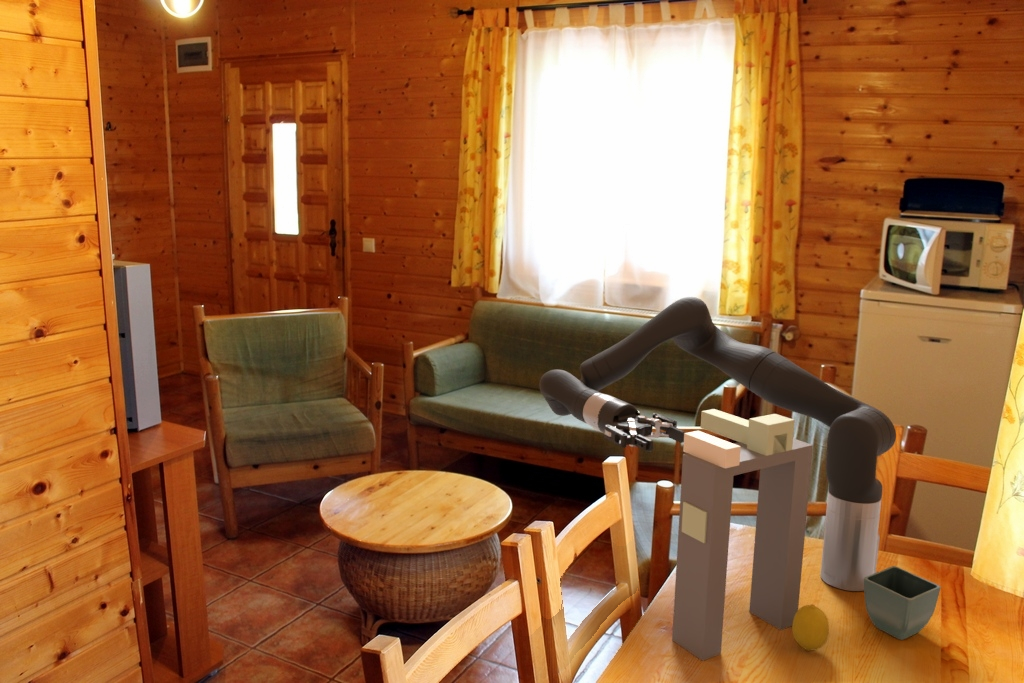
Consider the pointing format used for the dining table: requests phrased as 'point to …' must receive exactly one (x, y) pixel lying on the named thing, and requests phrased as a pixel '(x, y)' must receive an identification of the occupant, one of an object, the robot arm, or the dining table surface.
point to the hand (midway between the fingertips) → (668, 442)
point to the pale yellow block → (752, 430)
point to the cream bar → (712, 449)
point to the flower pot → (899, 601)
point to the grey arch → (709, 541)
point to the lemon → (810, 627)
